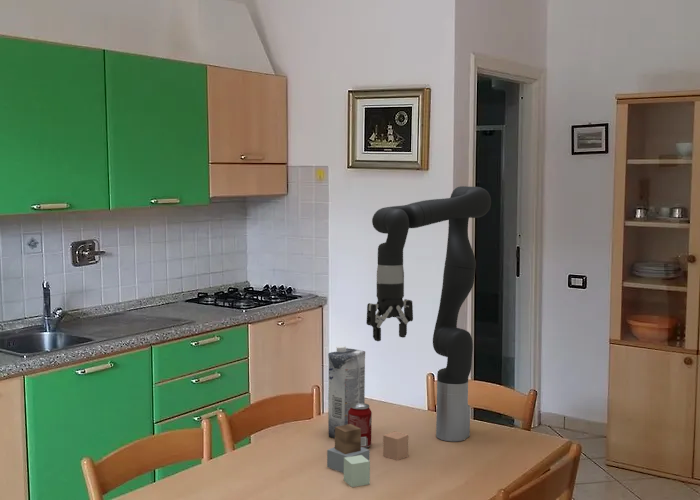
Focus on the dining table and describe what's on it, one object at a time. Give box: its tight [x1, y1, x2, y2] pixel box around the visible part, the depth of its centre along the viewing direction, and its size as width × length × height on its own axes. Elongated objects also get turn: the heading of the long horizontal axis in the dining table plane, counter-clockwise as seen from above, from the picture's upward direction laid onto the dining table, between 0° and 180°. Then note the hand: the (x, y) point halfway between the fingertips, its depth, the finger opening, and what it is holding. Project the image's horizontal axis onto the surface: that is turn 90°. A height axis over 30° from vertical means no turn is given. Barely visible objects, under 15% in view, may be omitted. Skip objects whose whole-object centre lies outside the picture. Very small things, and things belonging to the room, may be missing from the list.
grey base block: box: [326, 446, 371, 474], centre depth 210 cm, size 8×8×5 cm
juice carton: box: [327, 345, 366, 439], centre depth 235 cm, size 9×10×27 cm
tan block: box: [382, 431, 410, 461], centre depth 219 cm, size 5×5×6 cm
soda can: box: [348, 402, 373, 449], centre depth 226 cm, size 7×7×12 cm
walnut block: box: [334, 424, 361, 454], centre depth 210 cm, size 5×5×6 cm
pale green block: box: [343, 455, 371, 488], centre depth 200 cm, size 5×5×6 cm
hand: (389, 338), depth 217 cm, fingers open, 8 cm apart
